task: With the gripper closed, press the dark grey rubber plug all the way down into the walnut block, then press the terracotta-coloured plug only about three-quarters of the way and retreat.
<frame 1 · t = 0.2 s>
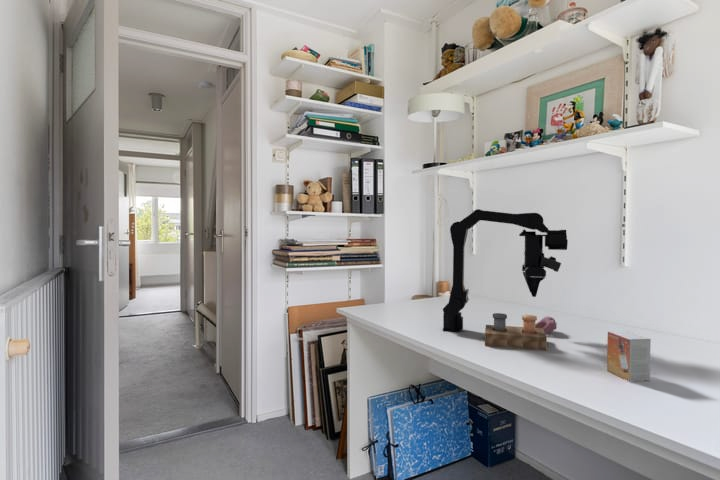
hand: (532, 294, 142), 14 cm above the table, tool pointing down, fingers open, 9 cm apart
walnut block: (514, 342, 134), on the table
video game controller: (545, 333, 146), on the table
grey plug: (499, 323, 135), point 6 cm above the table, slide at 0.0 cm
terracotta plug: (529, 325, 132), point 6 cm above the table, slide at 0.0 cm
small box: (627, 376, 103), on the table
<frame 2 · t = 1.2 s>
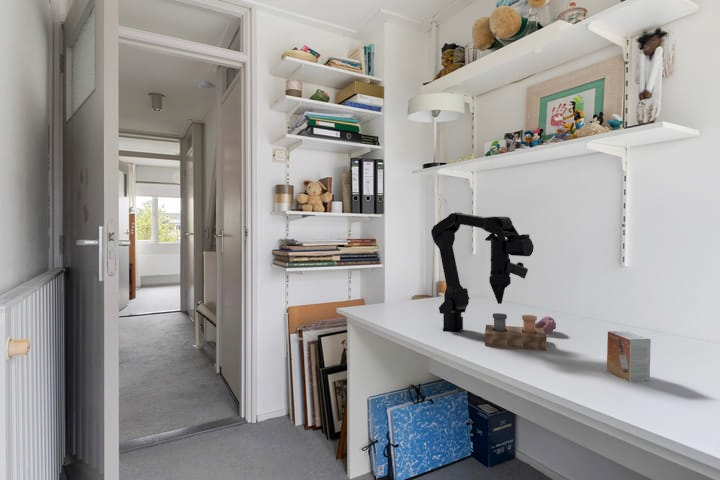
hand: (499, 302, 135), 13 cm above the table, tool pointing down, fingers open, 4 cm apart
nothing on the table moved.
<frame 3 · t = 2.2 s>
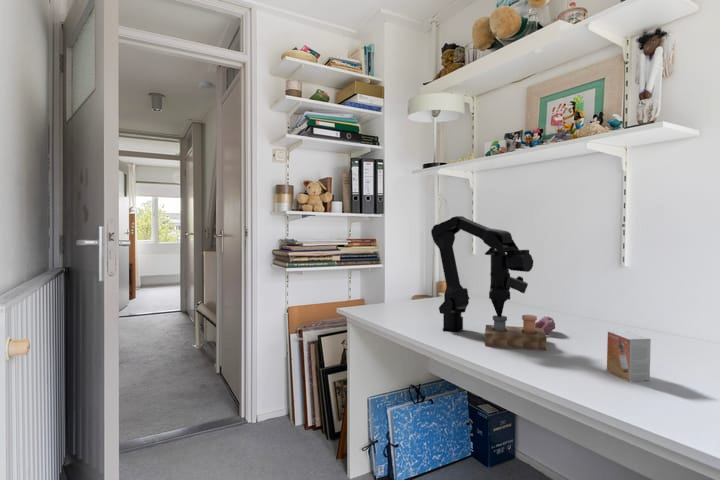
hand: (499, 316, 135), 8 cm above the table, tool pointing down, fingers closed, pressing on grey plug
grey plug: (499, 326, 135), point 5 cm above the table, slide at 0.7 cm, touching gripper
everything else where it was.
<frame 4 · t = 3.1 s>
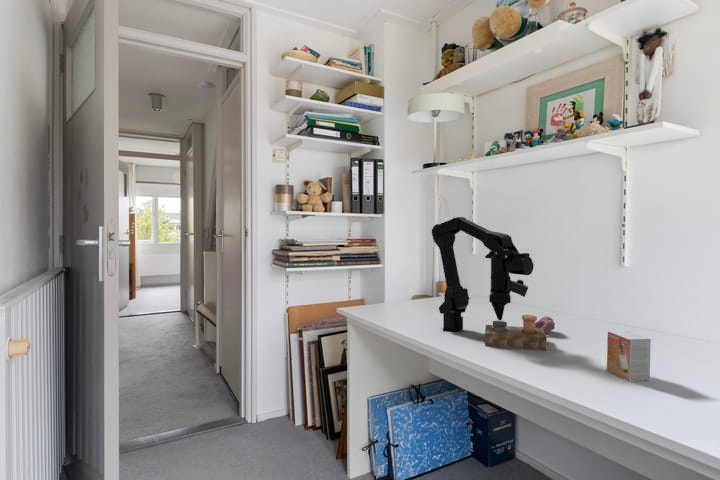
hand: (499, 320, 135), 7 cm above the table, tool pointing down, fingers closed
grey plug: (499, 331, 135), point 3 cm above the table, slide at 2.5 cm
everything else where it was.
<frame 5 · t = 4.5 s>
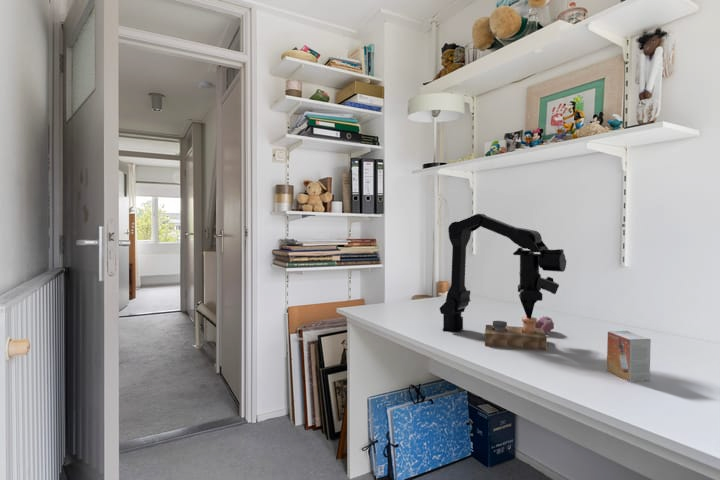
hand: (529, 318, 132), 8 cm above the table, tool pointing down, fingers closed, pressing on terracotta plug
terracotta plug: (529, 327, 132), point 5 cm above the table, slide at 0.6 cm, touching gripper
everything else where it was.
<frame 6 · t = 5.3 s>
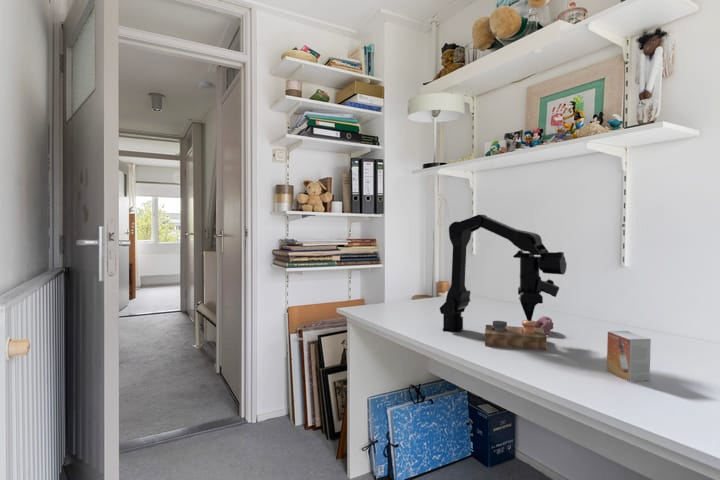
hand: (529, 320, 132), 8 cm above the table, tool pointing down, fingers closed
terracotta plug: (529, 331, 132), point 4 cm above the table, slide at 1.7 cm
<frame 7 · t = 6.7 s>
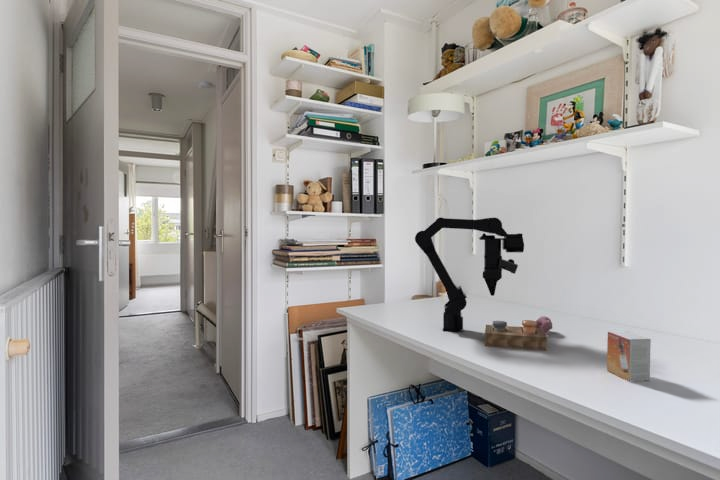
hand: (492, 295, 149), 13 cm above the table, tool pointing down, fingers closed
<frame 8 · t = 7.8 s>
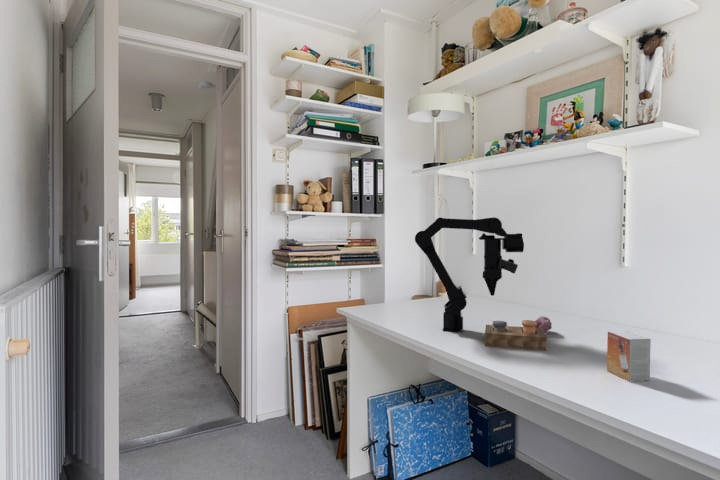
hand: (492, 295, 149), 13 cm above the table, tool pointing down, fingers closed
at the end: grey plug slide at 2.5 cm; terracotta plug slide at 1.7 cm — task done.
